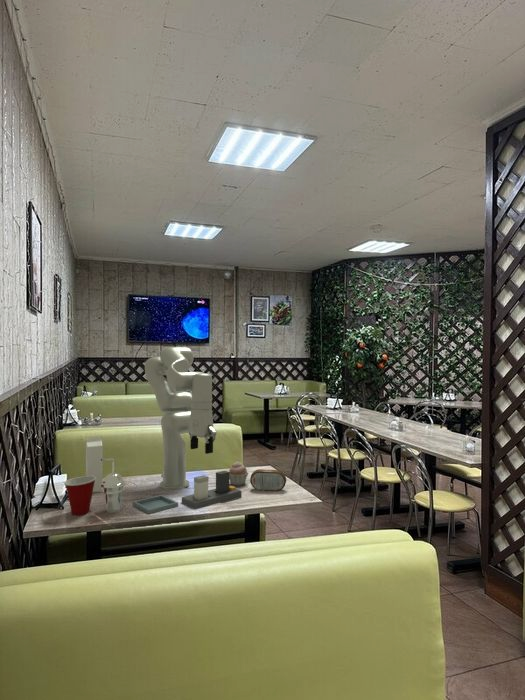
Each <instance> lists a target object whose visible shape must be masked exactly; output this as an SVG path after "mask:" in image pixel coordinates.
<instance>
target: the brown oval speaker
mask: <svg viewBox="0 0 525 700" xmlns="http://www.w3.org/2000/svg"><path fill="white" fill-rule="evenodd" d="M249 481H250V482H249V483H250V485H251V487H252V488H254V489H255V490H257V491H263V490H264V492H265V491H266V492H269V491H270V492H280V491H281V490H283V489H284V488H285V487H286V485H287V484H286V483H287V476H286V474H285V473H284V472H283V471H281V470H279V469H264V468H263V469H261V468H259V469H255V470H254V471H253V472H251V475H250V479H249Z"/></svg>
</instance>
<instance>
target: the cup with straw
mask: <svg viewBox="0 0 525 700" xmlns="http://www.w3.org/2000/svg"><path fill="white" fill-rule="evenodd" d="M101 461H103V462H107V461H109V462H110V461H112V462H111V469H112V470H111V473H108V474H107V475H105V477H104V478H103V480H102V483H101V487H102V492H103V493H104V503H105V510H106V512H108V513H117V512H119V511H120V508H121V504H122V503H121V502H122V496H123V495H122V493H123V489H124V486H125V485H126V481H125V479H124V478H123V476H122V475H121V473H118V472H115V460H114V458H103V459H101Z"/></svg>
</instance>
